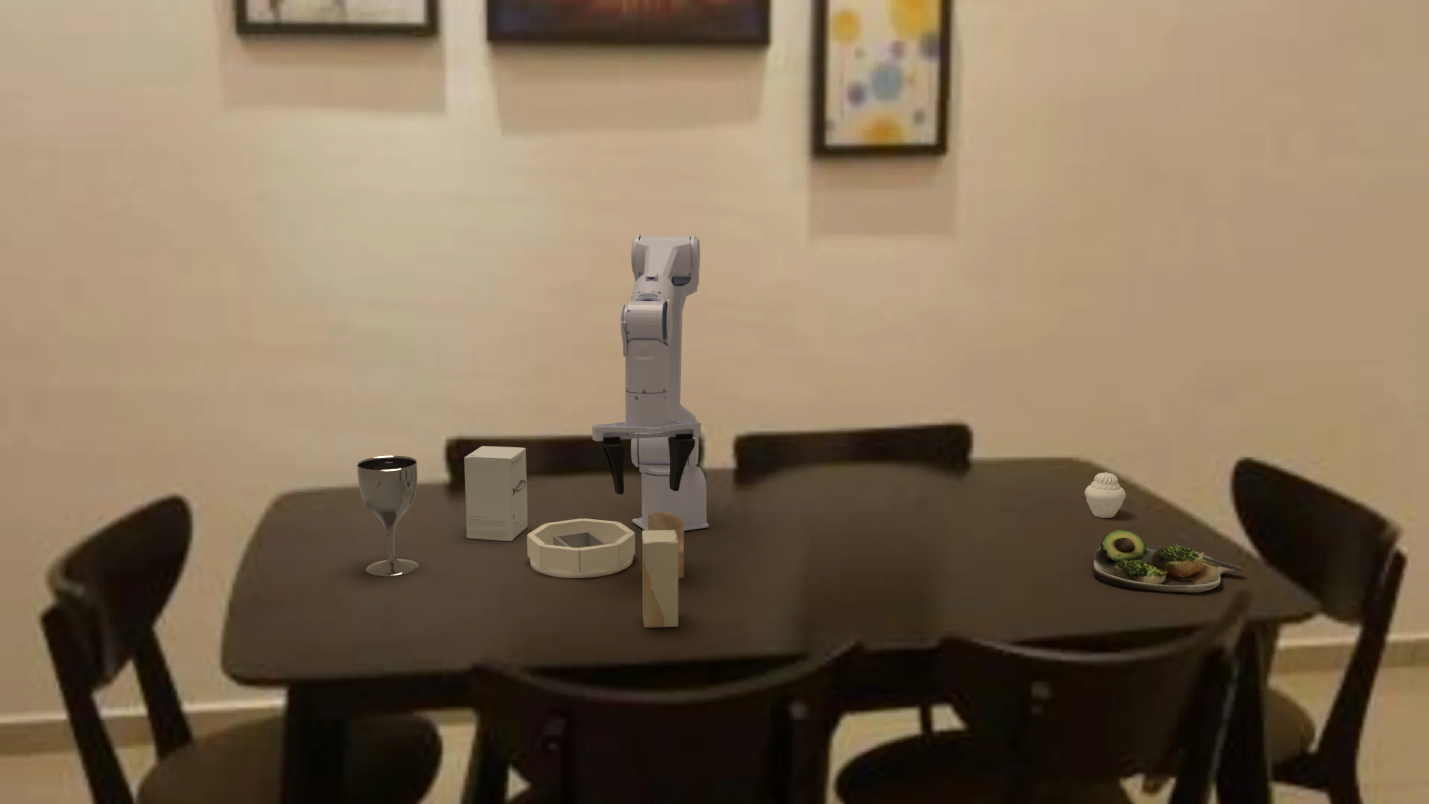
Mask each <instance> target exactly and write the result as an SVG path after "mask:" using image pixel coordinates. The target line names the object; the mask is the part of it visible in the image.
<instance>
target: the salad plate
mask: <svg viewBox="0 0 1429 804" xmlns="http://www.w3.org/2000/svg"><path fill="white" fill-rule="evenodd" d="M1100 544H1101V545H1100V547H1098V548H1097V550H1095V552H1094V555H1093V566H1092V568H1091V569H1092V573H1093V574H1094V575H1093V576H1095V578H1097V579H1098V580H1099V581H1101V582H1103V583H1104V584H1108V585H1110V586H1113V587H1117V588H1123V589H1128V590H1134V591H1135V590H1136V591H1146V592H1147V591H1150V592H1162V593H1164V592H1165V593H1204V592H1207V591H1211V590H1214V589H1216V588H1217V587H1219V586H1220V584H1221V583H1222V582H1221V580H1222V577H1221V575H1223V574H1224V573H1227V572H1228V573H1229V572H1239V571H1242V569H1243V568H1242V566H1240V565H1236V564H1233V563H1232V564H1231V563H1228V562H1224V561H1220V560H1216V559H1213V557H1211V556H1209V555H1206V554H1205V552H1204V551H1203V552H1198V551H1195V548H1193V547H1192V548H1189V547H1184V546H1181V545H1178V544H1174V545H1172V546H1167V547H1158V546H1152V545H1149V544H1146V543H1145V541H1144V540H1143V538H1141V536H1139V535H1138V534H1136V533H1135V532H1132V531H1129V530H1126V529H1115V530H1111V532H1108V533H1107V534H1106V535H1104V537H1103V539H1102V540H1101V543H1100ZM1176 580H1177V581H1178V580H1179V581H1191V582H1193V583H1194V584H1190V585H1189V584H1187V585H1181V584H1180V585H1179V584H1178V585H1176V584H1175V585H1172V584H1171V585H1170V584H1163V583H1164V582H1166V581H1176Z"/></svg>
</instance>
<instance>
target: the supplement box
mask: <svg viewBox="0 0 1429 804" xmlns="http://www.w3.org/2000/svg"><path fill="white" fill-rule="evenodd" d="M526 451H527V448H526V447H515V446H514V447H513V446H486V445H482V446H480V447H478V448H477V449H475V450H474V451H472V452H471V453H469V454H467V455H466V456H464V458H463V460H464V488H465V491H464V492H465V513H466V514H465V519H466V521H465V522H466V526H465V527H466V538H467V539H473V540H485V541H486V540H487V541H502V542H513V541H514V540H515V538H516V537H517V536H518V535H519V534H521V533H522V532H523V531H524V530H526V529H527V528H528V526H529V525H528V524H529V523H528V521H529V520H528V487H527V486H528V483H527V482H528V481H527V480H528V479H527V452H526Z"/></svg>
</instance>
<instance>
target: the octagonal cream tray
mask: <svg viewBox="0 0 1429 804" xmlns="http://www.w3.org/2000/svg"><path fill="white" fill-rule="evenodd" d="M635 535H636V532H635V531H633V530H632V529H630V528H629V527H628V526H627V525H624V524H623V523H622V522H619V521H613V520H601V519H592V518H576V519H575V518H574V519H568V520H567V519H566V520H561V521H560V520H559V521H555V522H553V521H552V522H546V523H543V524H542V525H540V526H537V528H535V529H534V530H532V531H530V532H528V534H527V535H526V545H527V546H526V547H527V548H526V551H527V557H528V558H529V565H530V567H531V568H532V569H533V570H534V571H536V572H537V573H539V574H542V575H546V576H551V577H557V578H563V579H588V578H597V577H603V576H605V577H606V576H610V575H613V574H617V573H619V572H622V571H624V570H626V569H628V568H630V566H631V565H632V564H633V563H634V562H633V561H634V555H635V554H636V545H635V544H636V536H635Z"/></svg>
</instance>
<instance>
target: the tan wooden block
mask: <svg viewBox="0 0 1429 804" xmlns="http://www.w3.org/2000/svg"><path fill="white" fill-rule="evenodd" d="M648 530H675V531H676V534H677V539H678V579H681V578H682V579H683V578H684V577H685V573H684V572H685V568H684V567H685V562H684V561H685V559H684V558H685V557H684V556H685V555H684V554H685V553H684V549H685V546H684V545H685V544H684V543H685V542H684V541H685V540H684V539H685V538H684V532H685V531H684V521H683V520H681V519H680V518H678V517H677V516H675V515H673V514H672V513H670V512H668V511H667V512H660V513H653V514H648Z"/></svg>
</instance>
